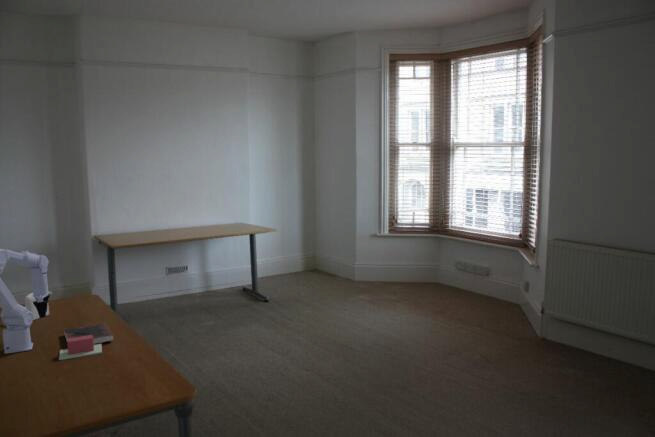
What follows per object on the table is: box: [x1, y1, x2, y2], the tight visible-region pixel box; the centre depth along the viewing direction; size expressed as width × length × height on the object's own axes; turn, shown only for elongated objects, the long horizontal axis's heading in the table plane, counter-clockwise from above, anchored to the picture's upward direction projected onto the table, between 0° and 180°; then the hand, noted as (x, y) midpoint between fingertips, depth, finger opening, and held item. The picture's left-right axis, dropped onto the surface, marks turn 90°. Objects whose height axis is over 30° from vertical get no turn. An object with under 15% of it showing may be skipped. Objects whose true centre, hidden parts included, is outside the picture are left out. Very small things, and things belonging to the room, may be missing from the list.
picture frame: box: [63, 322, 114, 345], centre depth 236 cm, size 16×2×22 cm
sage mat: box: [58, 343, 103, 361], centre depth 221 cm, size 15×10×1 cm, turn 113°
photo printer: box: [23, 292, 50, 321], centre depth 267 cm, size 10×4×12 cm, turn 152°
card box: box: [66, 335, 95, 355], centre depth 220 cm, size 9×4×5 cm, turn 113°
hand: (43, 314), depth 240 cm, fingers open, 7 cm apart
